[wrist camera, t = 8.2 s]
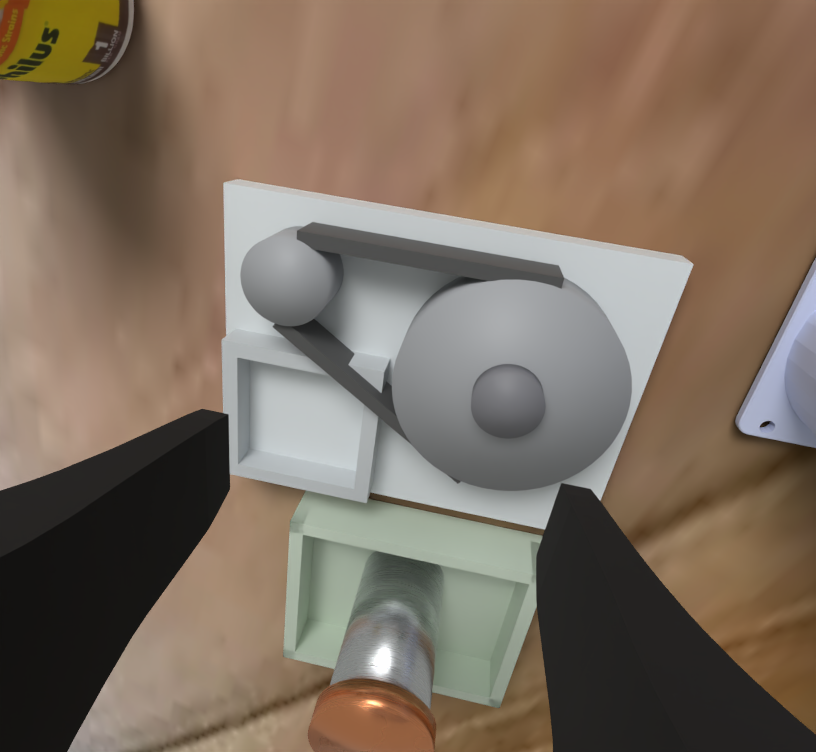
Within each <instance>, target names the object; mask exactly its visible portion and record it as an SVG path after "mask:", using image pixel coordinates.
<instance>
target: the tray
mask: <svg viewBox="0 0 816 752" xmlns="http://www.w3.org/2000/svg"><path fill="white" fill-rule="evenodd" d="M542 537H543V536H541V535H536V534H531V533H527V532H522V531H517V530H513V529H508V528H503V527H499V526H494V525H489V524H485V523H480V522H475V521H471V520H466V519H461V518H457V517H452V516H447V515H442V514H438V513H433V512H428V511H424V510H419V509H414V508H410V507H405V506H400V505H396V504H391V503H386V502H382V501H377V500H372V499H368V501H367V503H363V502H358V501H353V500H349V499H344V498H339V497H335V496H330V495H325V494H321V493H316V492H311V491H307V490H306V491H305V493H304V495H303V497H302V499H301V501H300V503H299V505H298V507H297V509H296V511H295V513H294V515H293V517H292V519H291V521H290V534H289V554H288V574H287V593H286V613H285V633H284V652H283V657H286V658H290V659H295V660H299V661H303V662H307V663H311V664H316V665H320V666H324V667H328V668H332V669H335V666H336V663H337V659H338V656H339V653H340V649H341V646H342V642H343V639H344V635H345V632H346V628H347V625H348V622H349V618H350V615H351V611H352V608H353V604H354V601H355V597H356V594H357V591H358V587H359V584H360V580H361V577H362V573H363V570H364V566H365V563H366V561H367V559H368V557H369V556H370V555H371V554H372V553H373V552H375V551H379V552H384V553H388V554H393V555H397V556H402V557H406V558H411V559H416V560H420V561H425V562H429V563H434V564H438V565H440V567H441V569H442V571H443V574H444V587H443V596H442V605H441V615H440V624H439V633H438V642H437V651H436V661H435V670H434V679H433V688H432V692H433V693H438V694H442V695H446V696H450V697H454V698H459V699H463V700H467V701H471V702H475V703H480V704H484V705H488V706H492V707H496V708H500V705H501V702H502V700H503V697H504V694H505V691H506V689H507V686H508V683H509V680H510V678H511V675H512V672H513V669H514V667H515V664H516V661H517V659H518V656H519V653H520V650H521V648H522V645H523V642H524V639H525V637H526V634H527V631H528V629H529V626H530V623H531V620H532V618H533V615H534V612H535V609H536V607H537V602H536V555H537V552H538V549H539V546H540V543H541V540H542Z"/></svg>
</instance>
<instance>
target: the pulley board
mask: <svg viewBox="0 0 816 752" xmlns="http://www.w3.org/2000/svg"><path fill="white" fill-rule="evenodd" d="M224 238H225V294H226V337H225V338H223V339H222V378H223V413H224V414H229V464H230V474H232V475H237V476H241V477H246V478H251V479H255V480H260V481H265V482H269V483H274V484H279V485H283V486H288V487H293V488H297V489H302V490H307V491H311V492H316V493H321V494H325V495H330V496H335V497H339V498H344V499H349V500H353V501H358V502H363V503H367V501H368V498H369V495H370V492H371V493H375V494H380V495H385V496H389V497H394V498H399V499H404V500H408V501H413V502H418V503H422V504H427V505H432V506H437V507H441V508H446V509H451V510H455V511H460V512H465V513H469V514H474V515H479V516H484V517H488V518H493V519H498V520H502V521H507V522H512V523H516V524H521V525H526V526H531V527H535V528H540V529H546V526H547V523H548V520H549V517H550V514H551V511H552V508H553V505H554V502H555V499H556V497H557V494H558V491H559V488H560V485H561V483H564V484H569V485H574V486H579V487H584V488H589V489H591V490H592V491H593V492H594V494H595V495H596V496H597V498H598V499H599V500H601V498H602V495H603V493H604V490H605V488H606V485H607V483H608V480H609V478H610V475H611V472H612V470H613V467H614V465H615V462H616V460H617V457H618V455H619V452H620V450H621V447H622V445H623V442H624V439H625V437H626V434H627V432H628V429H629V427H630V424H631V422H632V419H633V417H634V414H635V412H636V409H637V406H638V404H639V401H640V399H641V396H642V394H643V391H644V389H645V386H646V384H647V381H648V379H649V376H650V374H651V371H652V368H653V366H654V363H655V361H656V358H657V356H658V353H659V351H660V348H661V346H662V343H663V341H664V338H665V335H666V333H667V330H668V328H669V325H670V323H671V320H672V318H673V315H674V313H675V310H676V308H677V305H678V302H679V300H680V297H681V295H682V292H683V290H684V287H685V285H686V282H687V280H688V277H689V275H690V272H691V269H692V267H693V263H691V262H690V261H688V260H687V259H686V258H684V257H683V256H681V255H675V254H669V253H663V252H657V251H652V250H646V249H640V248H634V247H628V246H623V245H617V244H611V243H605V242H600V241H594V240H588V239H582V238H576V237H571V236H565V235H559V234H553V233H547V232H542V231H536V230H530V229H524V228H518V227H513V226H507V225H501V224H495V223H489V222H484V221H478V220H472V219H466V218H460V217H455V216H449V215H443V214H437V213H432V212H426V211H420V210H414V209H408V208H403V207H397V206H391V205H385V204H379V203H374V202H368V201H362V200H356V199H350V198H345V197H339V196H333V195H327V194H321V193H316V192H310V191H304V190H298V189H292V188H287V187H281V186H275V185H269V184H263V183H258V182H252V181H246V180H240V179H237V180H233V181H229V182H224Z"/></svg>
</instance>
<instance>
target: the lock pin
mask: <svg viewBox="0 0 816 752" xmlns="http://www.w3.org/2000/svg"><path fill="white" fill-rule="evenodd" d="M443 587H444V574H443V571H442V569H441V567H440V565H438V564H434V563H429V562H425V561H420V560H416V559H411V558H406V557H402V556H397V555H393V554H388V553H384V552H379V551H375V552H373V553H372V554H371V555H370V556H369V557H368V559H367V561H366V563H365V566H364V570H363V573H362V577H361V580H360V584H359V587H358V591H357V594H356V597H355V601H354V604H353V608H352V611H351V615H350V618H349V622H348V625H347V628H346V632H345V635H344V639H343V642H342V646H341V649H340V653H339V656H338V659H337V663H336V666H335V670H334V673H333V677H332V680H331V684H330V686H329V687H327V688H326V689H325V690H324V691H323V692H322V693H321V694H320V696H319V698H318V700H317V703H316V706H315V710H314V713H313V716H312V719H311V723H310V726H309V730H308V739H309V742H310V745H311V747H312V749H313V751H314V752H434V747H435V737H436V722H435V718H434V716H433V714H432V712H431V711H430V707H431V697H432V688H433V679H434V670H435V661H436V651H437V642H438V633H439V624H440V615H441V605H442V596H443Z"/></svg>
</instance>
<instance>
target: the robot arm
mask: <svg viewBox="0 0 816 752" xmlns="http://www.w3.org/2000/svg"><path fill="white" fill-rule="evenodd" d="M765 421H770V423H769V424H768V425H767V426H765V427H760V425H761V424H762V423H763V422H765ZM735 423H736V426H737V427H738V428H739V430H740V431H741V432H742V433H745V434H747V435H752V436H757V437H762V438H767V439H773V440H778V441H783V442H788V443H793V444H798V445H803V446H809V447H814V448H816V258H815V260H814V262H813V264H812V266H811V268H810V270H809V272H808V274H807V276H806V278H805V280H804V282H803V284H802V286H801V288H800V290H799V292H798V294H797V296H796V298H795V300H794V302H793V304H792V306H791V308H790V310H789V312H788V314H787V316H786V318H785V320H784V322H783V324H782V326H781V328H780V330H779V332H778V334H777V336H776V338H775V340H774V342H773V344H772V346H771V348H770V350H769V352H768V354H767V356H766V358H765V360H764V362H763V364H762V366H761V368H760V370H759V372H758V374H757V376H756V378H755V380H754V382H753V384H752V386H751V388H750V390H749V392H748V394H747V396H746V398H745V400H744V402H743V405H742V407H741V409H740V411H739V413H738V415H737V417H736V420H735ZM229 490H230V464H229V414H224V413H219V412H215V411H210V410H205V409H200V410H198V411H195V412H193V413H190V414H188V415H186V416H183V417H181V418H179V419H176V420H174V421H172V422H170V423H168V424H166V425H163V426H161V427H159V428H157V429H155V430H153V431H150V432H148V433H146V434H144V435H142V436H139V437H137V438H135V439H133V440H131V441H128V442H126V443H124V444H122V445H119V446H117V447H115V448H113V449H110V450H108V451H106V452H103V453H101V454H98V455H96V456H93V457H91V458H89V459H86V460H84V461H81V462H79V463H76V464H74V465H71V466H69V467H67V468H64V469H62V470H59V471H56V472H54V473H51V474H48V475H46V476H43V477H40V478H37V479H34V480H32V481H29V482H26V483H23V484H20V485H17V486H14V487H11V488H7V489H4V490H1V491H0V752H67V751H68V749H69V747H70V745H71V743H72V741H73V739H74V738H75V736H76V734H77V732H78V730H79V729H80V727H81V725H82V723H83V721H84V720H85V718H86V716H87V714H88V712H89V711H90V709H91V707H92V705H93V703H94V702H95V700H96V698H97V696H98V694H99V693H100V691H101V689H102V687H103V685H104V684H105V682H106V680H107V679H108V677H109V675H110V673H111V672H112V670H113V668H114V667H115V665H116V663H117V662H118V660H119V658H120V656H121V655H122V653H123V651H124V650H125V648H126V646H127V645H128V643H129V641H130V639H131V638H132V636H133V635H134V633H135V632H136V630H137V629H138V627H139V626H140V624H141V623H142V621H143V620H144V618H145V617H146V615H147V614H148V612H149V611H150V610H151V608H152V607H153V606H154V604H155V603H156V601H157V600H158V599H159V597H160V596H161V595H162V593H163V592H164V590H165V589H166V588H167V586H168V585H169V583H170V582H171V581H172V579H173V578H174V577H175V575H176V574H177V572H178V571H179V570H180V568H181V567H182V566H183V564H184V563H185V561H186V560H187V559H188V557H189V556H190V554H191V553H192V552H193V550H194V549H195V547H196V546H197V545H198V543H199V542H200V540H201V539H202V538H203V536H204V535H205V533H206V532H207V530H208V529H209V527H210V525H211V524H212V522H213V520H214V518H215V516H216V515H217V513H218V511H219V509H220V507H221V505H222V503H223V501H224V499H225V498H226V496H227V494H228V492H229ZM536 602H537V611H538V619H539V627H540V636H541V643H542V651H543V659H544V667H545V674H546V682H547V690H548V698H549V705H550V714H551V725H552V736H553V752H816V735H815V734H814V733H813V732H812V731H811V730H809V729H808V728H807V727H806V726H805V725H804V724H802V723H801V722H800V721H799V720H798V719H797V718H795V717H794V716H793V715H792V714H791V713H790V712H789V711H788V710H786V709H785V708H784V707H783V706H782V705H781V704H780V703H779V702H778V701H776V700H775V699H774V698H773V697H772V696H771V695H770V694H769V693H768V692H766V691H765V690H764V689H763V688H762V687H761V686H760V685H759V684H758V683H756V682H755V681H754V680H753V679H752V678H751V677H750V676H749V675H748V674H747V673H746V672H745V671H744V670H743V669H742V668H741V667H740V666H739V665H738V664H737V663H736V662H735V661H734V660H733V659H732V658H731V657H730V656H729V655H728V654H727V653H726V652H725V651H724V650H723V649H722V648H721V647H720V646H719V645H718V644H717V643H716V642H715V641H714V640H713V639H712V638H711V637H710V636H709V635H708V634H707V633H706V632H705V631H704V630H703V629H702V628H701V627H700V626H699V624H698V623H697V622H696V621H695V620H694V619H693V618H692V617H691V616H690V615H689V614H688V612H687V611H686V610H685V609H684V608H683V607H682V606H681V604H680V603H679V602H678V601H677V600H676V599H675V597H674V596H673V595H672V594H671V593H670V592H669V590H668V589H667V588H666V587H665V586H664V585H663V583H662V582H661V581H660V580H659V578H658V577H657V576H656V575H655V574H654V572H653V571H652V570H651V569H650V567H649V566H648V565H647V564H646V562H645V561H644V560H643V558H642V557H641V556H640V555H639V553H638V552H637V551H636V549H635V548H634V547H633V545H632V544H631V543H630V541H629V540H628V539H627V537H626V536H625V535H624V533H623V532H622V531H621V529H620V528H619V526H618V525H617V524H616V522H615V521H614V520H613V518H612V517H611V516H610V514H609V513H608V511H607V510H606V509H605V507H604V506H603V504H602V503H601V502H600V500H599V499H598V498H597V496H596V495H595V494H594V492H593V491H592V490H591V489H589V488H584V487H579V486H574V485H569V484H564V483H561V485H560V488H559V491H558V494H557V497H556V499H555V502H554V505H553V508H552V511H551V514H550V517H549V520H548V523H547V526H546V529H545V531H544V534H543V537H542V540H541V543H540V546H539V549H538V552H537V555H536Z"/></svg>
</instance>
